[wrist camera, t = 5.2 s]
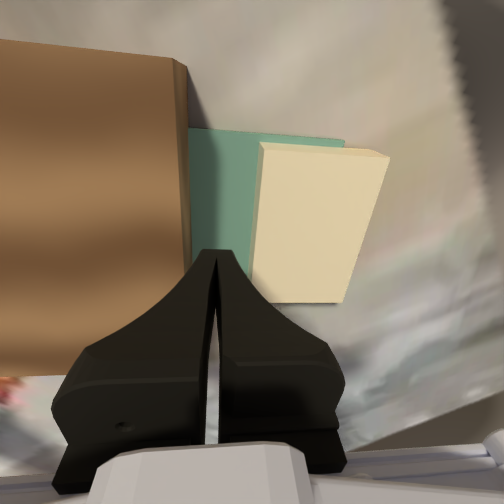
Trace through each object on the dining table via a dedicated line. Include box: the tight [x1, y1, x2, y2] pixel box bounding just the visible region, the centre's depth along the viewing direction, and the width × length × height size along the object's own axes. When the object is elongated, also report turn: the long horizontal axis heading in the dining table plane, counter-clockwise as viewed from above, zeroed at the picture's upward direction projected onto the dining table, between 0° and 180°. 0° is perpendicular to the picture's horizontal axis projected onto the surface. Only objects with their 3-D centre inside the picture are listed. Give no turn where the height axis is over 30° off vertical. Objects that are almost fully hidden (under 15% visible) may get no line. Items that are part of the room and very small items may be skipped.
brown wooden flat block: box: [0, 39, 193, 377], centre depth 14 cm, size 16×12×4 cm
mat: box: [188, 128, 345, 277], centre depth 16 cm, size 11×8×1 cm
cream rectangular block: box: [248, 142, 390, 303], centre depth 15 cm, size 9×6×2 cm, turn 175°
